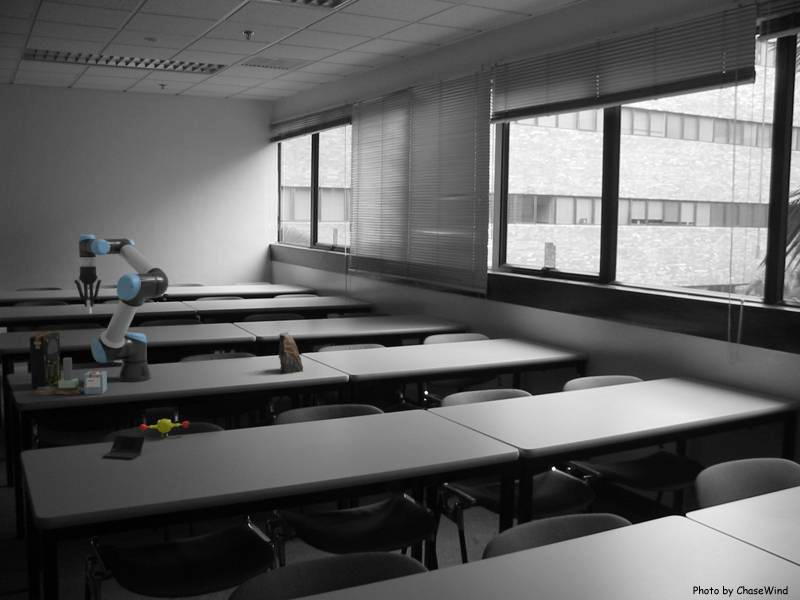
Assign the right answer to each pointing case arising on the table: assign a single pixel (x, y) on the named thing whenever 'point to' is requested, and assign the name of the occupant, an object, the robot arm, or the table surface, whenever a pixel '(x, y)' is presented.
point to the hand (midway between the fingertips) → (89, 313)
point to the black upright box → (45, 359)
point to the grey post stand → (67, 375)
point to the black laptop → (126, 448)
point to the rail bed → (56, 390)
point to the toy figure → (164, 426)
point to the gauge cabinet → (95, 382)
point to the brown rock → (289, 355)
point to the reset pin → (95, 373)
